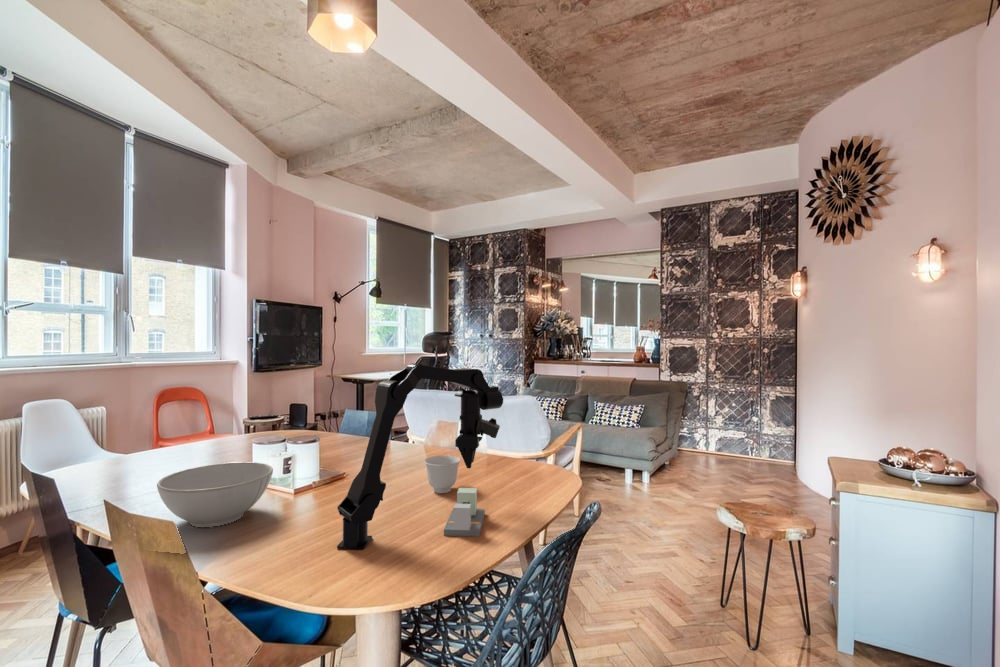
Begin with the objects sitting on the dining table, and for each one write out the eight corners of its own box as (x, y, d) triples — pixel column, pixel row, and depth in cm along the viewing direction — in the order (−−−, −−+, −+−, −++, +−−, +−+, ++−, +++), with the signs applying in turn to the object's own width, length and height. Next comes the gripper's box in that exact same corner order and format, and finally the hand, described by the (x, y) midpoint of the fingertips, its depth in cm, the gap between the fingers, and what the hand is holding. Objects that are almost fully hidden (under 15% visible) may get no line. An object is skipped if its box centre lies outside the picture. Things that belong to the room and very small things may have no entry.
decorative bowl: (292, 512, 127) (293, 470, 127) (187, 549, 104) (189, 497, 104) (239, 496, 141) (240, 457, 141) (136, 525, 117) (137, 479, 118)
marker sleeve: (475, 515, 121) (475, 493, 121) (456, 514, 121) (457, 492, 121) (476, 509, 125) (476, 488, 125) (459, 509, 125) (459, 487, 125)
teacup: (468, 484, 154) (468, 455, 154) (452, 498, 140) (452, 466, 140) (436, 481, 157) (436, 452, 158) (417, 494, 143) (417, 463, 143)
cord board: (479, 536, 112) (479, 508, 112) (443, 535, 112) (444, 507, 113) (484, 514, 127) (484, 489, 127) (453, 513, 127) (453, 488, 128)
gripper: (496, 416, 121) (495, 475, 120) (499, 407, 139) (499, 457, 139) (455, 416, 121) (454, 474, 121) (464, 406, 140) (464, 457, 140)
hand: (470, 465), depth 130 cm, fingers open, 6 cm apart
